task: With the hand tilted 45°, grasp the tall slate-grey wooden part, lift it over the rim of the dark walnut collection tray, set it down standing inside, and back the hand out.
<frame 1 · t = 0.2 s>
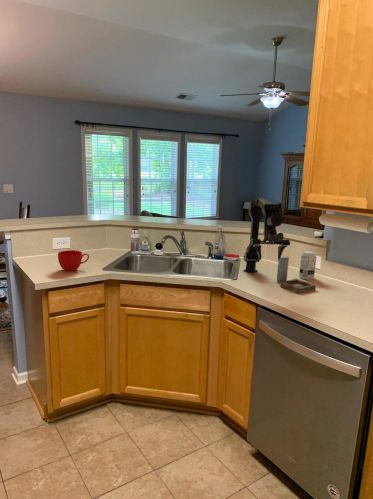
hand: (269, 260, 180), 16 cm above the countertop, tool pointing down, fingers open, 9 cm apart
walnut tray: (297, 288, 188), on the countertop
slate part: (281, 282, 197), on the countertop
ceramic cup: (74, 270, 206), on the countertop
supplement can: (306, 278, 207), on the countertop
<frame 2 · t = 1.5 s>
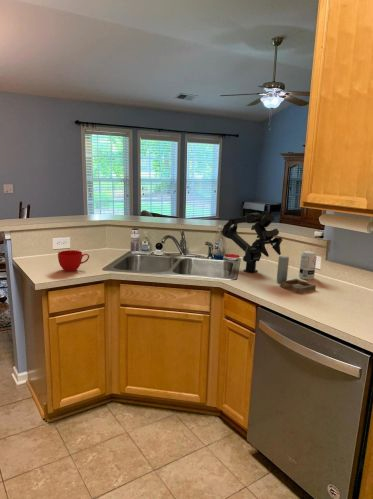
hand: (274, 255, 199), 13 cm above the countertop, tool tilted 45°, fingers open, 9 cm apart
nothing on the countertop moved.
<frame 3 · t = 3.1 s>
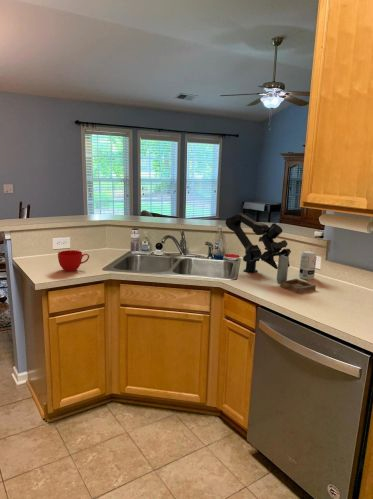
hand: (283, 267, 195), 8 cm above the countertop, tool tilted 45°, fingers open, 9 cm apart
nothing on the countertop moved.
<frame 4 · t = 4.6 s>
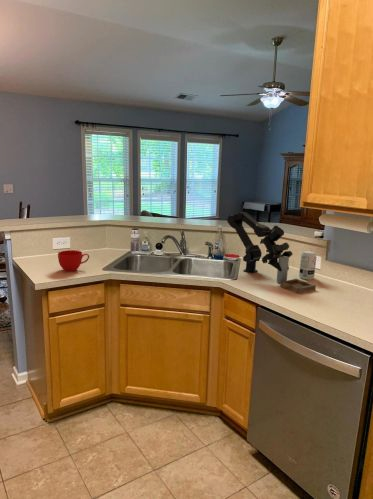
hand: (284, 270, 194), 7 cm above the countertop, tool tilted 45°, fingers closed on slate part, 5 cm apart
slate part: (281, 282, 197), on the countertop, touching gripper
everything else where it was.
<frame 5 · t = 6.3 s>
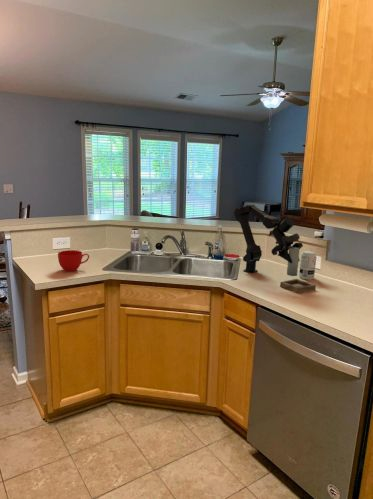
hand: (295, 262, 188), 13 cm above the countertop, tool tilted 45°, fingers closed on slate part, 5 cm apart
slate part: (291, 274, 190), point 6 cm above the countertop, touching gripper
everything else where it was.
when the fingers open (9 cm above the countertop, at t = 8.3 s): slate part drops 1 cm, resting on walnut tray.
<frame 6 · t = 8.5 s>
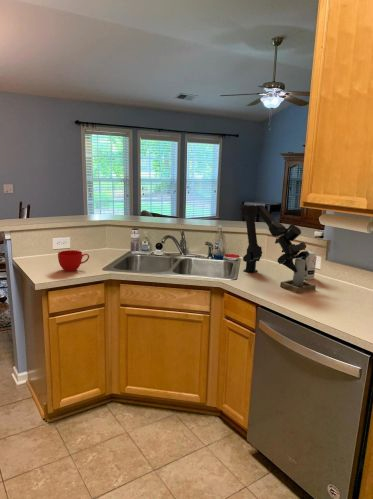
hand: (301, 271, 185), 9 cm above the countertop, tool tilted 45°, fingers open, 7 cm apart
slate part: (297, 286, 188), point 1 cm above the countertop, touching walnut tray
everything else where it was.
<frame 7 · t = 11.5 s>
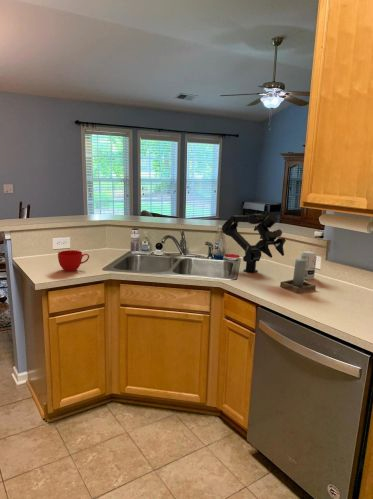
hand: (277, 256, 198), 13 cm above the countertop, tool tilted 45°, fingers open, 9 cm apart
nothing on the countertop moved.
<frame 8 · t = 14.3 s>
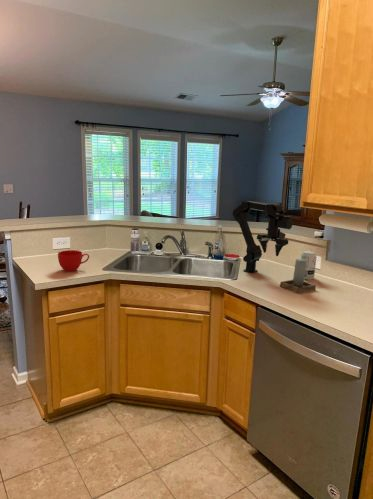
hand: (270, 254, 204), 13 cm above the countertop, tool pointing down, fingers open, 9 cm apart
nothing on the countertop moved.
at the end: slate part inside the target area on the walnut tray (0.1 cm from its centre), point 0.9 cm above the walnut tray's base; slate part tilted 1°; the gripper is holding nothing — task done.
